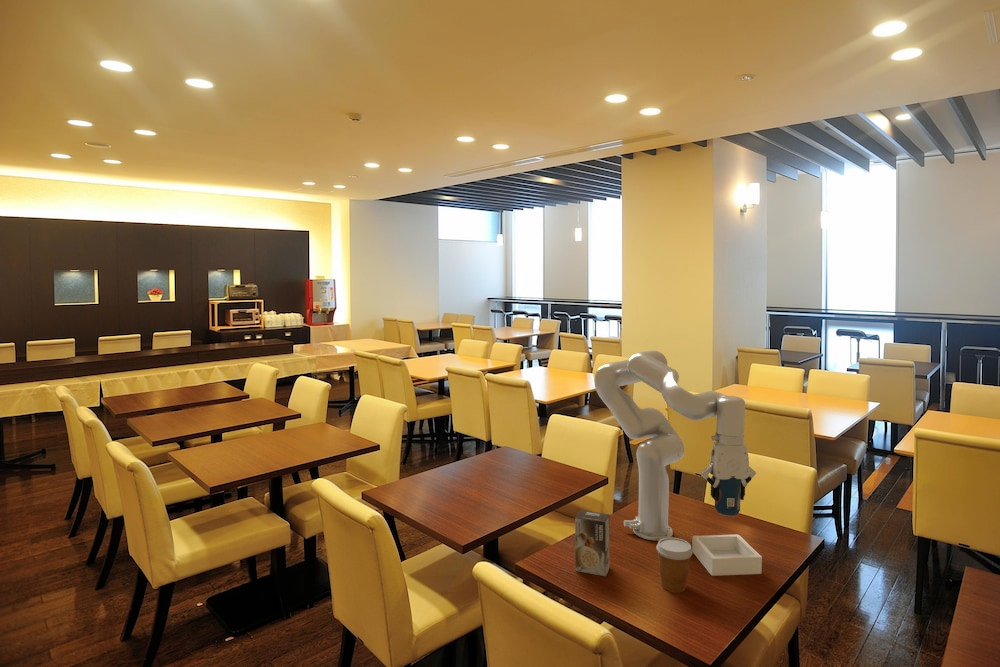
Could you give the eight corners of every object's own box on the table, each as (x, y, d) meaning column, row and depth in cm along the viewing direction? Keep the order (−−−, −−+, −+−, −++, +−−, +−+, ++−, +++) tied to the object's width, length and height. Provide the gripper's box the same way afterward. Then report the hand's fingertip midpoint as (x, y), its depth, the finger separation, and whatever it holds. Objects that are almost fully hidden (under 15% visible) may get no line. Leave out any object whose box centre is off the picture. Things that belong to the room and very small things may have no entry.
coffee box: (610, 566, 171) (611, 513, 169) (605, 577, 165) (606, 522, 163) (579, 561, 174) (579, 509, 173) (574, 571, 168) (574, 517, 167)
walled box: (711, 575, 166) (712, 558, 165) (692, 551, 180) (692, 535, 179) (761, 573, 166) (762, 557, 166) (737, 549, 181) (738, 534, 180)
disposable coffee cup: (686, 599, 154) (687, 556, 152) (650, 589, 159) (651, 547, 157) (695, 583, 162) (696, 541, 160) (661, 574, 167) (662, 533, 165)
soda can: (712, 507, 176) (713, 468, 174) (736, 508, 175) (738, 469, 173) (717, 516, 169) (719, 476, 167) (742, 517, 168) (744, 477, 167)
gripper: (705, 443, 165) (703, 504, 167) (765, 442, 166) (762, 502, 168) (695, 436, 173) (693, 494, 174) (752, 435, 174) (750, 493, 176)
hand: (727, 498), depth 171 cm, fingers closed on soda can, 6 cm apart
